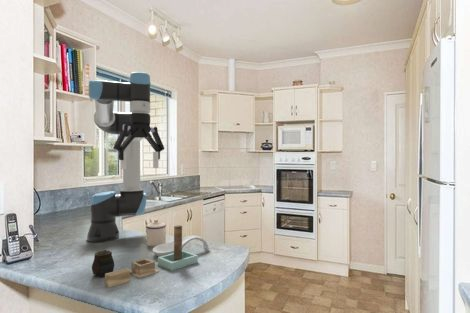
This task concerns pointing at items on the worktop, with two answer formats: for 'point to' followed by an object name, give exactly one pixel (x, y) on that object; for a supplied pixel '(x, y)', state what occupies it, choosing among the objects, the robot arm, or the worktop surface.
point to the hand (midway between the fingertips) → (140, 168)
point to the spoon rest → (169, 247)
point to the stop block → (117, 277)
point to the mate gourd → (102, 263)
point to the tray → (172, 265)
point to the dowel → (177, 242)
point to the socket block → (143, 268)
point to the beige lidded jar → (155, 233)
